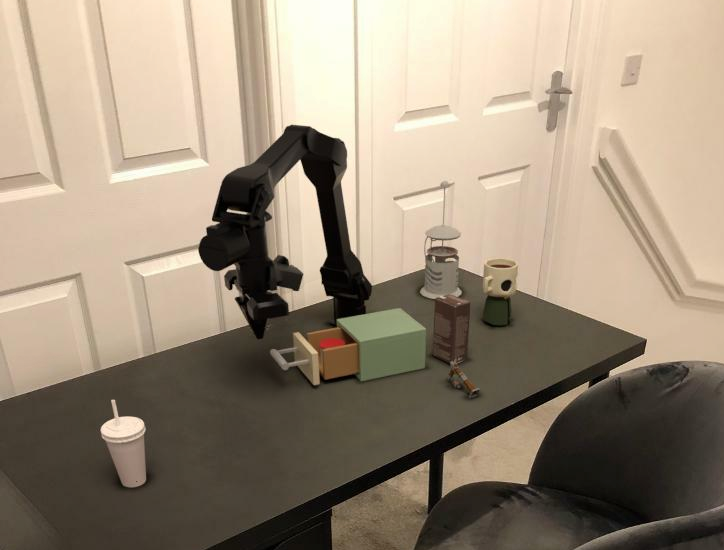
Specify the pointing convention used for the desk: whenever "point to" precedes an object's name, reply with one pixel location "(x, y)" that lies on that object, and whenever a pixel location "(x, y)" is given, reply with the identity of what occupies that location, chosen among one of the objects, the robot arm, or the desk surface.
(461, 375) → the wooden post with brackets
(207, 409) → the desk surface
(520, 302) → the desk surface
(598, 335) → the desk surface
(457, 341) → the box
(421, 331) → the green drawer cabinet
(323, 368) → the pod drawer
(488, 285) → the character mug
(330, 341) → the cylinder
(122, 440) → the smoothie
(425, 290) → the french press
